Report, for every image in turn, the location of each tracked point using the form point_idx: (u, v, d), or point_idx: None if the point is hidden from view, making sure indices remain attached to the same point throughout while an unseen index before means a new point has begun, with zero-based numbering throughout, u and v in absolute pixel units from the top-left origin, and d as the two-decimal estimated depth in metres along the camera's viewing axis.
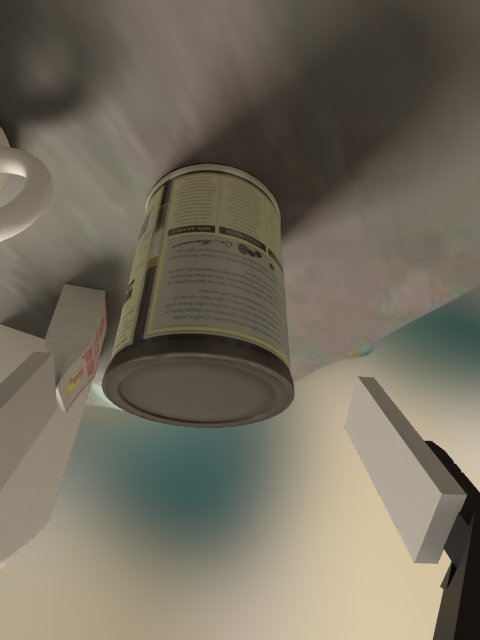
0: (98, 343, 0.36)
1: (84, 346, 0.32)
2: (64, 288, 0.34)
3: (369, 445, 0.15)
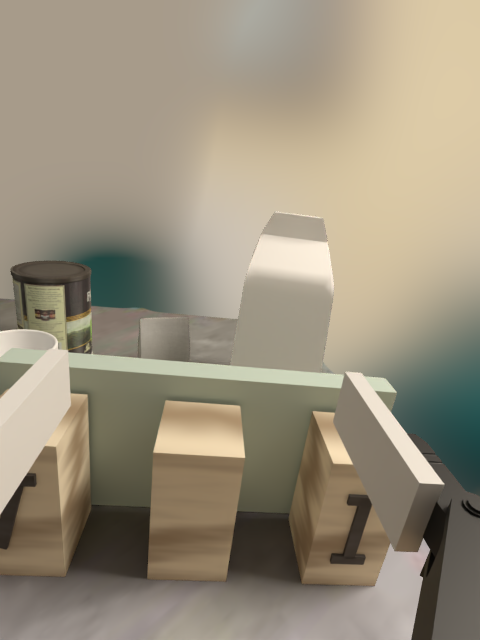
0: None
1: (139, 341, 0.53)
2: None
3: (355, 438, 0.15)
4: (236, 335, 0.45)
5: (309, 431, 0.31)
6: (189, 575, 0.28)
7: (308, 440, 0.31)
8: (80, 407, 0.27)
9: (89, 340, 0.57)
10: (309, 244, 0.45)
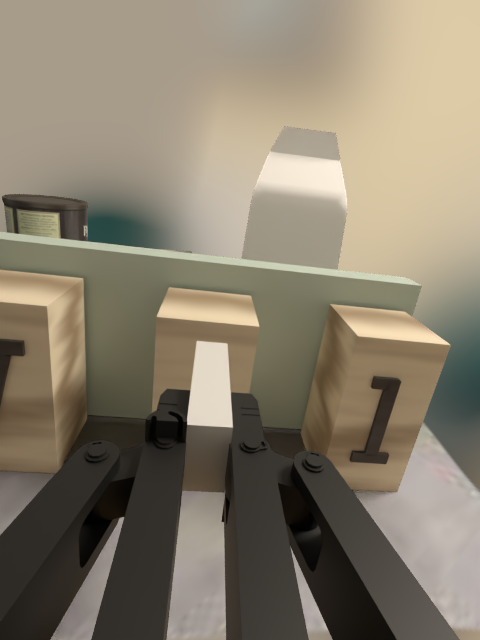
0: None
1: None
2: None
3: None
4: None
5: (326, 327, 0.28)
6: None
7: (324, 337, 0.28)
8: (75, 285, 0.25)
9: None
10: (320, 162, 0.42)
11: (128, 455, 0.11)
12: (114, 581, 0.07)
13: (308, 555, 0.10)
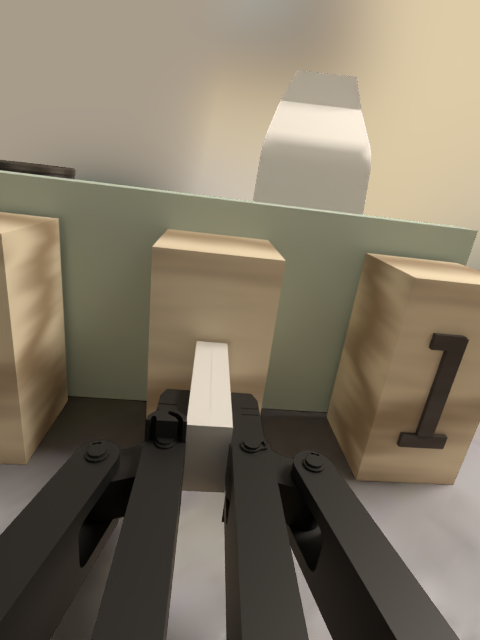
0: None
1: None
2: None
3: None
4: None
5: (361, 282, 0.23)
6: None
7: (359, 294, 0.23)
8: (46, 223, 0.19)
9: None
10: (339, 111, 0.37)
11: (128, 455, 0.11)
12: (114, 581, 0.07)
13: (308, 555, 0.10)
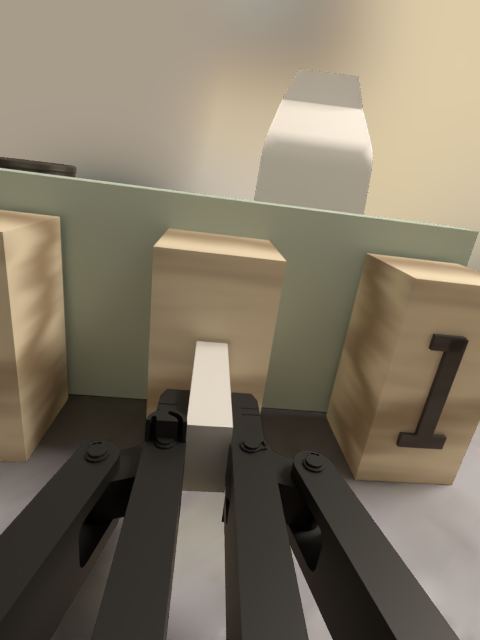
0: None
1: None
2: None
3: None
4: None
5: (361, 282, 0.23)
6: None
7: (359, 294, 0.23)
8: (47, 221, 0.19)
9: None
10: (340, 110, 0.37)
11: (128, 455, 0.11)
12: (114, 581, 0.07)
13: (308, 555, 0.10)
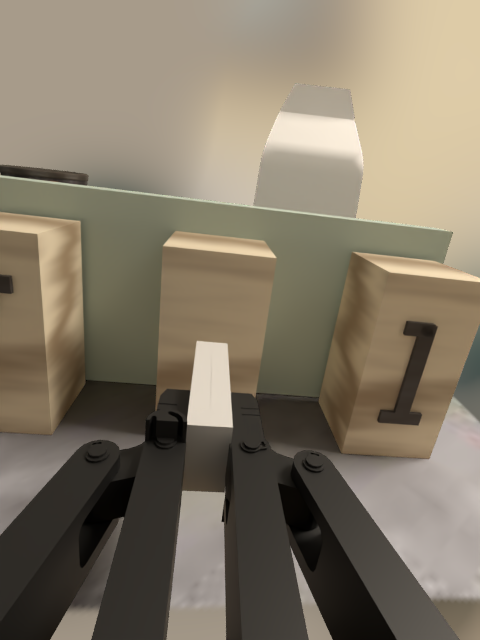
0: None
1: None
2: None
3: None
4: None
5: (348, 278, 0.26)
6: None
7: (346, 289, 0.26)
8: (71, 225, 0.22)
9: None
10: (334, 121, 0.40)
11: (128, 455, 0.11)
12: (114, 581, 0.07)
13: (308, 555, 0.10)
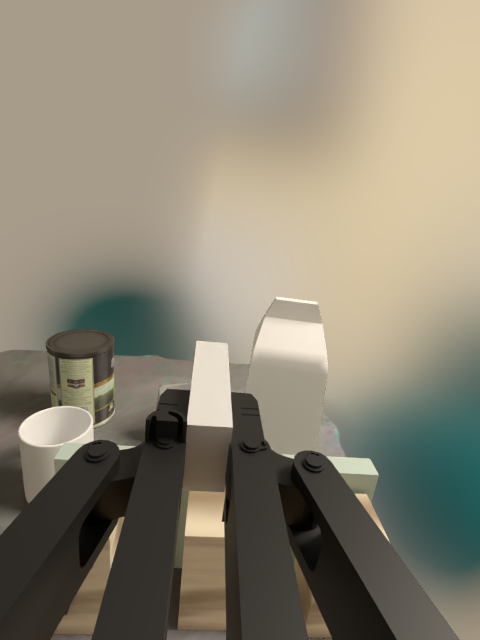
0: None
1: None
2: None
3: None
4: None
5: None
6: (211, 626, 0.35)
7: None
8: None
9: (112, 399, 0.64)
10: (306, 326, 0.52)
11: (128, 455, 0.11)
12: (114, 581, 0.07)
13: (308, 555, 0.10)
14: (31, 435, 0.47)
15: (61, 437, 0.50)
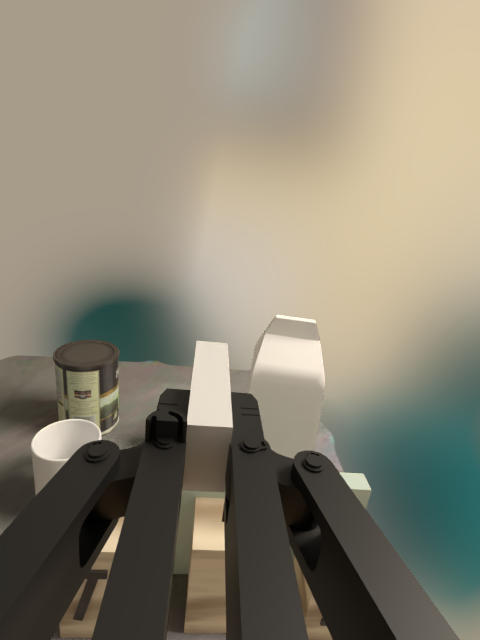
0: None
1: None
2: None
3: None
4: None
5: None
6: (215, 629, 0.38)
7: None
8: None
9: (117, 408, 0.66)
10: (304, 343, 0.54)
11: (128, 455, 0.11)
12: (114, 581, 0.07)
13: (308, 555, 0.10)
14: (42, 447, 0.49)
15: (70, 447, 0.53)
